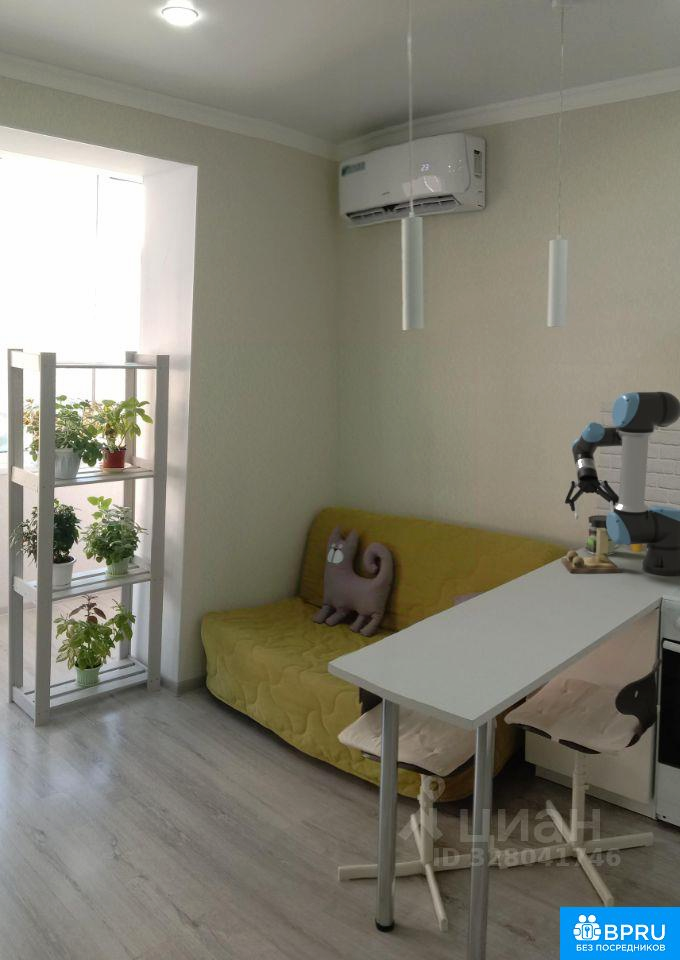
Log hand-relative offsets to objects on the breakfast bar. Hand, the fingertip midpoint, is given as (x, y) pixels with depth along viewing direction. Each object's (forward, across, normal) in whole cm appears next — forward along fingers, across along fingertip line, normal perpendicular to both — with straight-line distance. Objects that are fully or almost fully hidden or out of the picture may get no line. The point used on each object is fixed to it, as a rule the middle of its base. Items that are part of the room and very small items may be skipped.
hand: (595, 517), depth 308 cm
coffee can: (+3, -6, -21) cm, 22 cm away
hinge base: (+19, +4, -5) cm, 20 cm away
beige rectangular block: (+17, 0, -3) cm, 18 cm away
